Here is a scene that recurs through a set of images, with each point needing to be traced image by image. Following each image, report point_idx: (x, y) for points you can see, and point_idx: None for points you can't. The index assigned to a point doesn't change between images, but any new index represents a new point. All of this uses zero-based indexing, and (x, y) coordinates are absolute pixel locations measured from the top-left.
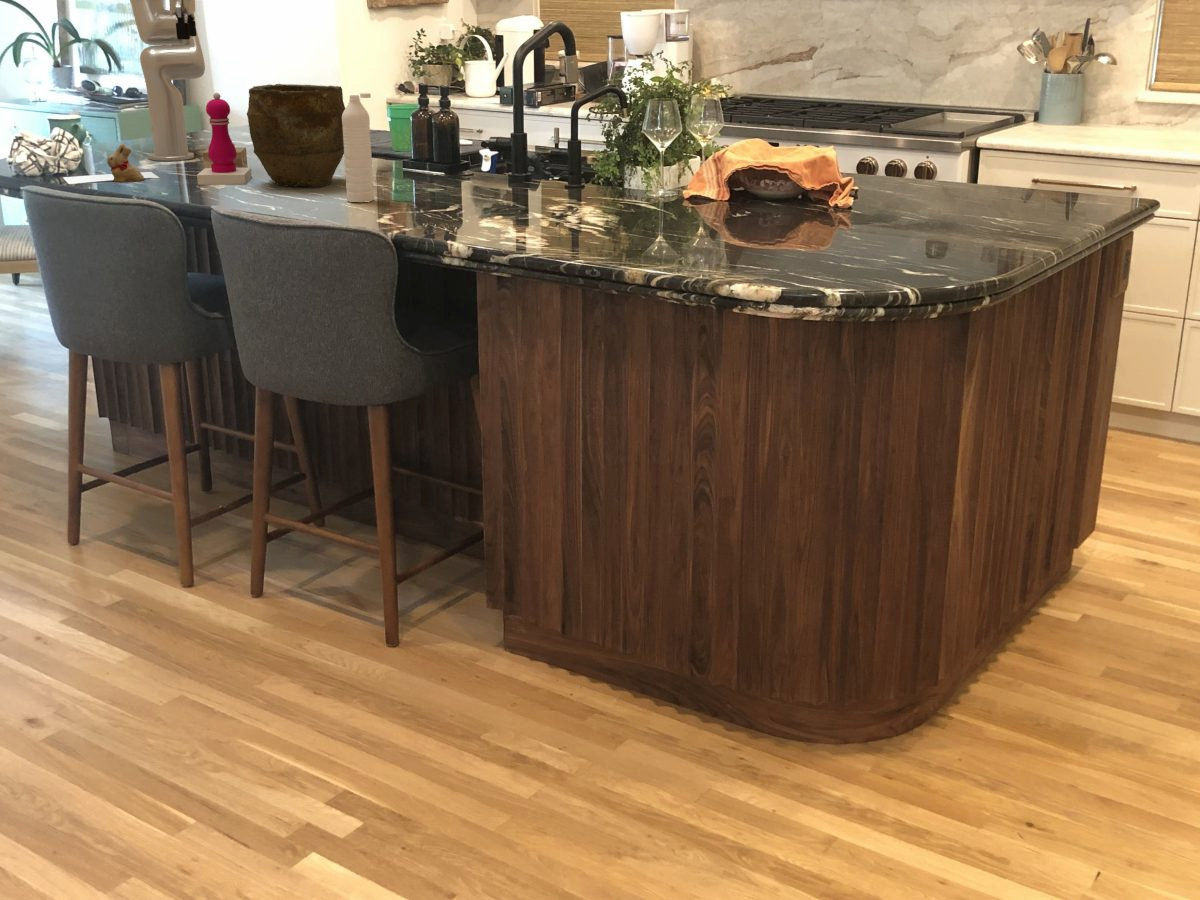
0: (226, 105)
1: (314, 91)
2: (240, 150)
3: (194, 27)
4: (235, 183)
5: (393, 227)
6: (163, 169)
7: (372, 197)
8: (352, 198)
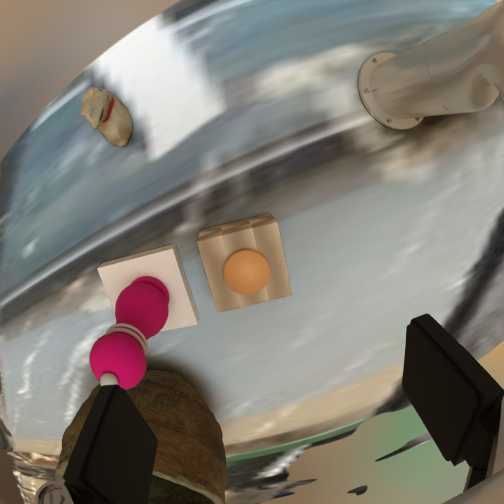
0: None
1: None
2: (244, 302)
3: (428, 426)
4: None
5: (26, 457)
6: (261, 118)
7: None
8: None
